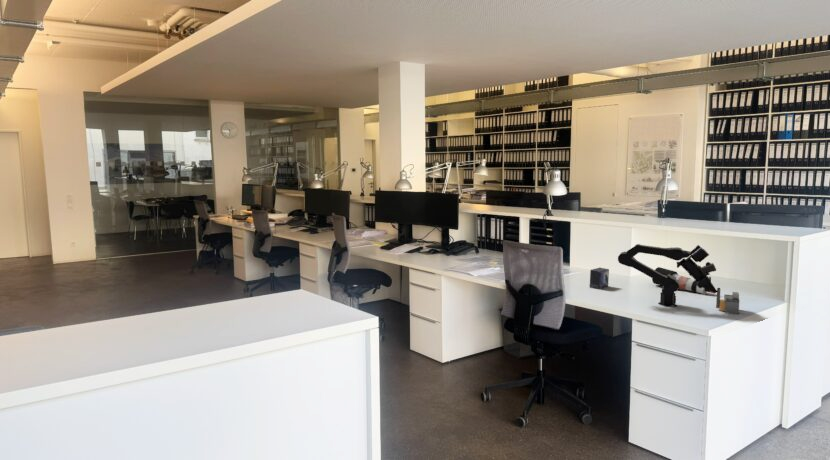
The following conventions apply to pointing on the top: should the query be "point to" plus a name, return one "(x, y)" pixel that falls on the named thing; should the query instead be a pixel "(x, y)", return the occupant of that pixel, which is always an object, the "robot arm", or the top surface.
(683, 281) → the striped tapered cylinder
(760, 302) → the top surface
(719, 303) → the plug
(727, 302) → the housing
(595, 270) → the small box
